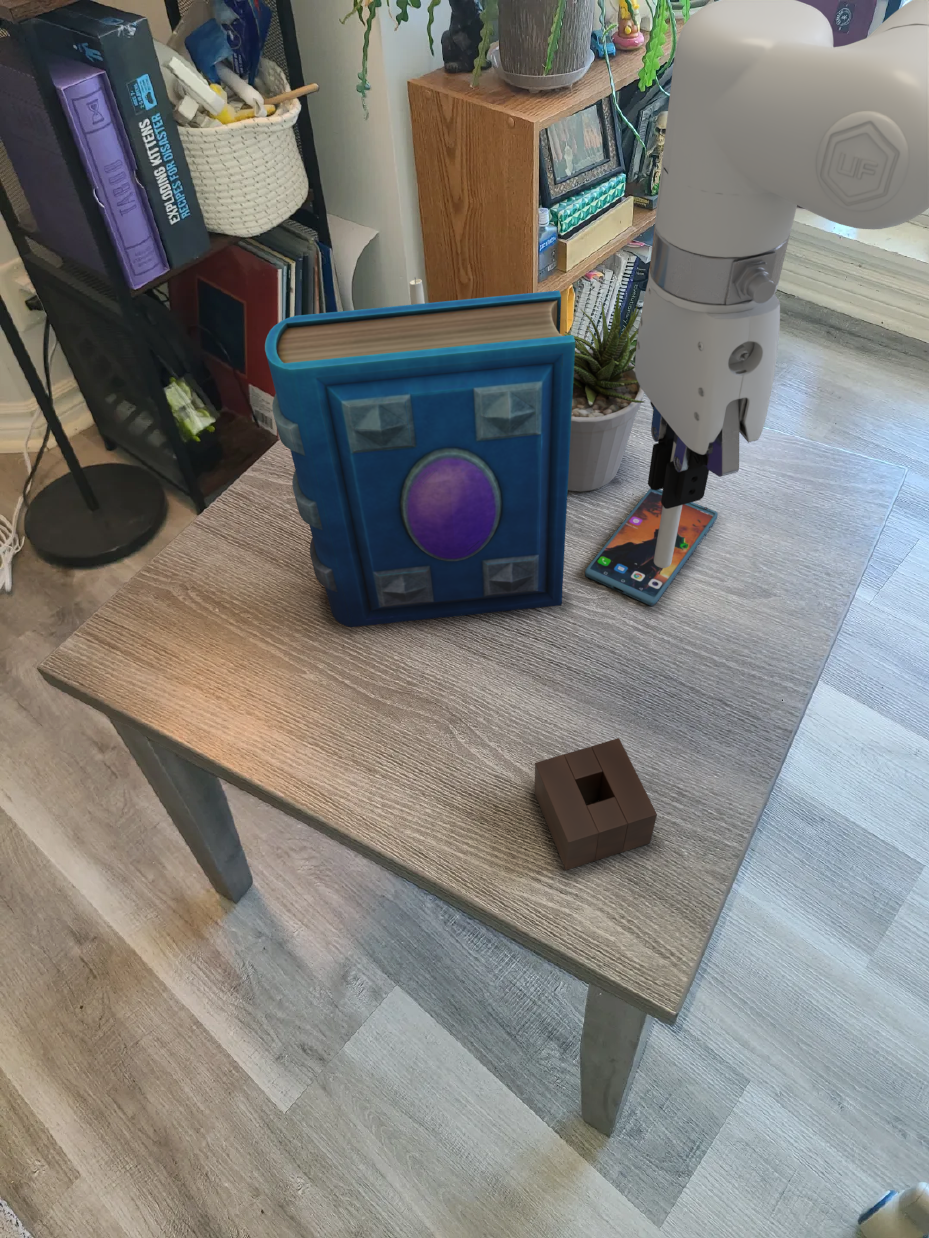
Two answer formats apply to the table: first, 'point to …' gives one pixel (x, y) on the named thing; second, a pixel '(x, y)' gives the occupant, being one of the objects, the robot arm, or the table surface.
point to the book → (430, 453)
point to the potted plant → (602, 404)
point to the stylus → (667, 530)
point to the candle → (416, 292)
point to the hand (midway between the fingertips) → (675, 491)
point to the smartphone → (648, 549)
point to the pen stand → (600, 825)
